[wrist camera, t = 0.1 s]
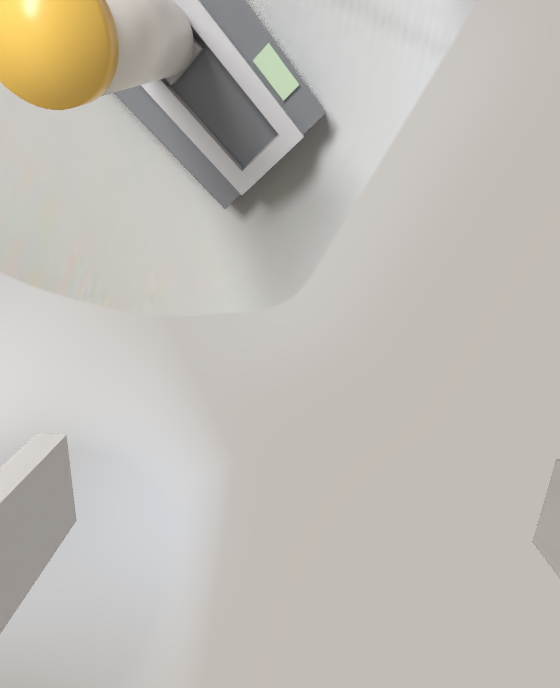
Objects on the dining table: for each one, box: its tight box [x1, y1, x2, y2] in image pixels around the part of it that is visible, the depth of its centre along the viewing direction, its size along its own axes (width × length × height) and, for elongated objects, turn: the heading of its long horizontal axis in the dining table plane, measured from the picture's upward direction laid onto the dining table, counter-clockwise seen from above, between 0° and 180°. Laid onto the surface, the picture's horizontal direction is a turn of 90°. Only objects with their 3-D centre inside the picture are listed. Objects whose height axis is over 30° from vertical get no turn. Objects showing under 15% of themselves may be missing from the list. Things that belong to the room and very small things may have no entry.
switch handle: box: [0, 0, 203, 110], centre depth 19 cm, size 4×4×16 cm
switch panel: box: [114, 0, 326, 209], centre depth 27 cm, size 20×10×3 cm, turn 42°
